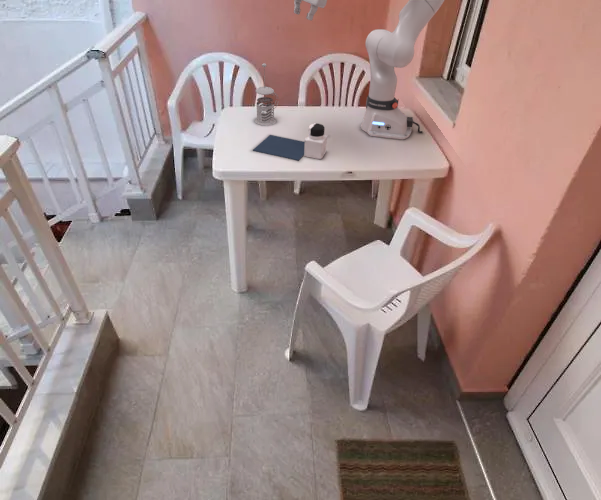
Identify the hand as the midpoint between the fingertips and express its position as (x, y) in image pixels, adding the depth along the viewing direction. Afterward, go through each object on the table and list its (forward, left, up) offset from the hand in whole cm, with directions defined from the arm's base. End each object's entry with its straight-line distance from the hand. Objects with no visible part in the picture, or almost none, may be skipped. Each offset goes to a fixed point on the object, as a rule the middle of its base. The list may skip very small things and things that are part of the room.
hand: (302, 16), depth 143 cm
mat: (+4, +7, -47) cm, 47 cm away
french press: (+22, -15, -47) cm, 54 cm away
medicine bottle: (-10, +7, -47) cm, 48 cm away
